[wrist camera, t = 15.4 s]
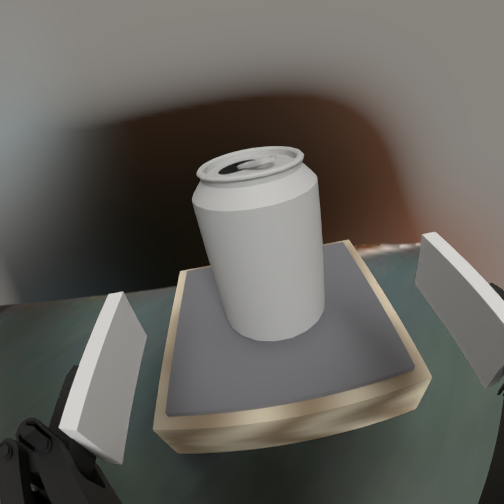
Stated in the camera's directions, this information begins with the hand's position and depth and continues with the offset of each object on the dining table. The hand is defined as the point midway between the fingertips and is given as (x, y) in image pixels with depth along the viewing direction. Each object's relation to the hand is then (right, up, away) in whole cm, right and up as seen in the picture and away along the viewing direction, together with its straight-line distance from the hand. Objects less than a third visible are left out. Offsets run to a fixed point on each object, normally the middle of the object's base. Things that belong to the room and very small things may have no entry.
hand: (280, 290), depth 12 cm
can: (+1, -3, +11) cm, 11 cm away
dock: (+2, -7, +13) cm, 15 cm away
